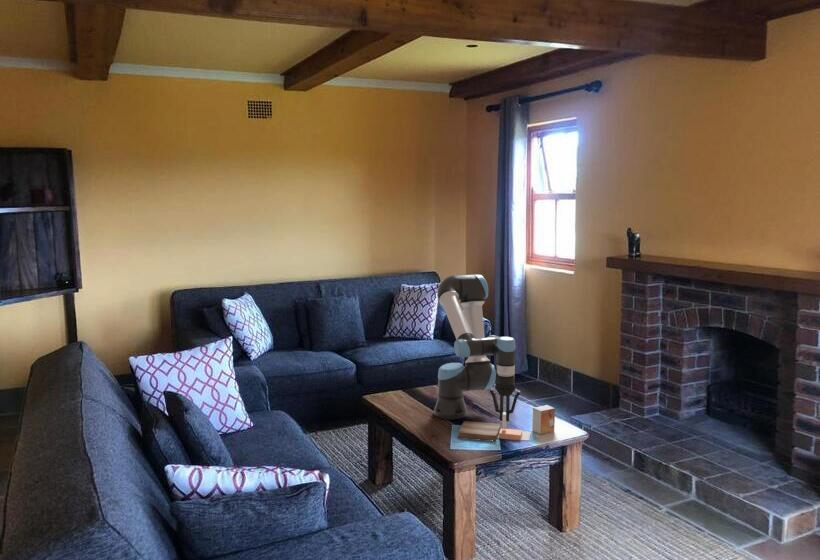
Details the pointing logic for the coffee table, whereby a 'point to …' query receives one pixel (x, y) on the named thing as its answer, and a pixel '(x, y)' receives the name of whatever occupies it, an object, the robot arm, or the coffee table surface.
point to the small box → (543, 419)
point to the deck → (479, 430)
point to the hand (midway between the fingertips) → (504, 428)
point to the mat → (524, 436)
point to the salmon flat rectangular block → (510, 434)
